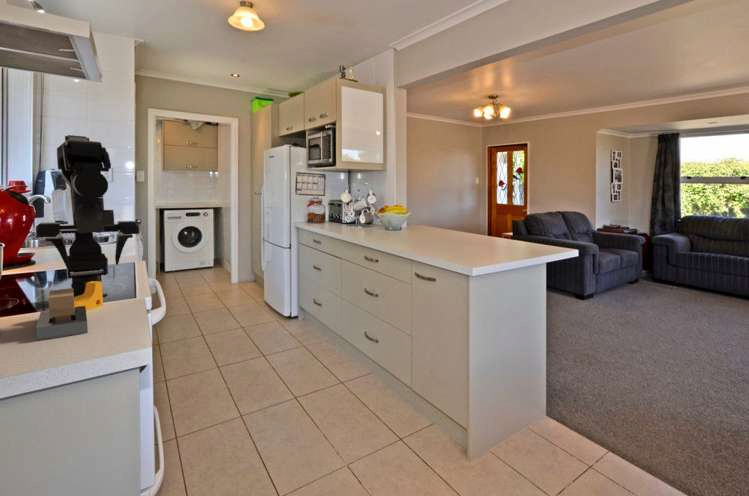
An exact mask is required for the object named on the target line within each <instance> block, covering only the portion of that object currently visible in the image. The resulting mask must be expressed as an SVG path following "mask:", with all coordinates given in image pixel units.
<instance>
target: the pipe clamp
mask: <svg viewBox="0 0 749 496" xmlns="http://www.w3.org/2000/svg"><path fill="white" fill-rule="evenodd" d="M102 293H103V284H102V282H101V281H91V282H87V283H86V289H85V292H84V294H83V295H79V296H76V297H75V298H74V304H75V307H79V306H85V307H86V312H88V310H89V311H92V310H94V308H95V309H97V307H98V308H101V307H104V297H103V294H104V293H103V294H102ZM100 306H101V307H100ZM91 309H92V310H91Z"/></svg>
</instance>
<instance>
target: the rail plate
mask: <svg viewBox="0 0 749 496" xmlns="http://www.w3.org/2000/svg"><path fill="white" fill-rule="evenodd" d="M70 319H71V321H66V322H58V323H56V322H55V317H50V311H49V309H48V310H47V309H46V310H41V311H40V313H39V317H38V320H37V324H36V327H35V329H36V339H37V340H36V341H41V340H47V339H48V340H49V339H55V338H60V337H67V336H73V335H74V336H75V335H80V334H81V335H82V334H87V333H88V332H89V329H88V318H87V311H86V307H85V306H79V307H75V314H72V315H70Z"/></svg>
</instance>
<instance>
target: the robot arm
mask: <svg viewBox="0 0 749 496" xmlns="http://www.w3.org/2000/svg"><path fill="white" fill-rule="evenodd" d="M56 161H57V170H61V171H60V173H61V178H62V179H63V180H64V181H65V183H66V185H68V186H69V189H70V190H69V191H70V193H69V194H70V202H71V214H72V223H73V224H70V225H69V224H66V225H61V222H60V221H59V222H58V221H57V222H55V221H54V222H53V221H52V222H40V223H38V225H36V226H35V233H36V238H44V241H45V242H51V243H52V244H53V245H54V247H55V248H56V250H57V251H58V253H59V255H60V256H61V259H62V261H63V263H64V265H65V267H66V276H67V279H69V280H71V285H70V286H71V288H73V292H74V298H75V297H76V296H79V295H83V294H84V292H85V289H86V283H87V282H91V281H101V282H102V281H103V279H102V276H107V275H109V267H108V266H109V264H108V263H109V259H108V257H107V256H106V255H105V253H104V252H103V251H102V246H101V244H100V243H99V242H97V240H96V239H95V238H94V233H97V234H100V233H101V234H102V233H115V232H117V233H116V239H115V255H114V261H115V265H116V266H117V265H119V262H120V259H121V256H122V253H123V249H124V247H125V245H126V243H127V241H128V240H129V239H131V238H134V235H138V234H140V225H139V223H138V222H136V221H135V220H119V221H118V220H117V223H115V214H114V209H105V203H104V202H105V201H104V195H105V194H106V193H107V192H108V189H109V182H108V180H107V178H106V176H105V175H103V174H102V172H107V173H108V172H109V171H110V169H111V168H112V163H111V159H110V154H109V152H108V151H107V148H106V147H105V146H103V145H102V142H100V141H94V140H93V141H91V140H90V137H87V136H83V135H74V134H73V135H72V134H71V135H70V134H68V135H64V142H62V144H61V145H59V146H58V147H57V148H56ZM63 234H73V235H74V240H73V242H72V244H71V245H70V247H69V248H68V252H67V248H66V247H67V246H66V243H65V239H64V236H63ZM102 294H103V298H104V297H107V296H109V295H108V293H103V292H102Z"/></svg>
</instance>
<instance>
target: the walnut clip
mask: <svg viewBox="0 0 749 496" xmlns="http://www.w3.org/2000/svg"><path fill="white" fill-rule="evenodd" d="M47 300H48V310H49V311H50V317H55V322H56V323H58V322H66V321H71V319H70V315H72V314H75V304H74V292H73V288H72V287H71V288H60V289H51V290H49V292H48V299H47Z"/></svg>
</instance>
